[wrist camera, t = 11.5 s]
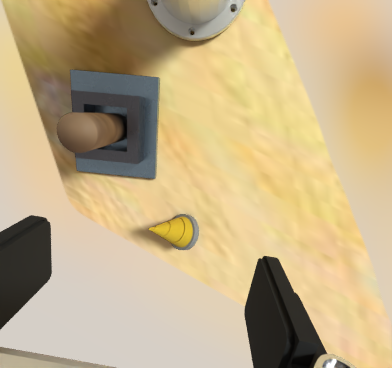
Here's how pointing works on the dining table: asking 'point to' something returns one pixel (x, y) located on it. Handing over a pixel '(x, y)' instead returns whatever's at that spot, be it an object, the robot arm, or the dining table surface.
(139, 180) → the dining table surface
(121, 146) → the grey square peg hole
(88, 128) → the walnut rod
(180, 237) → the yellow grooved cone part
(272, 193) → the dining table surface
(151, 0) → the robot arm
